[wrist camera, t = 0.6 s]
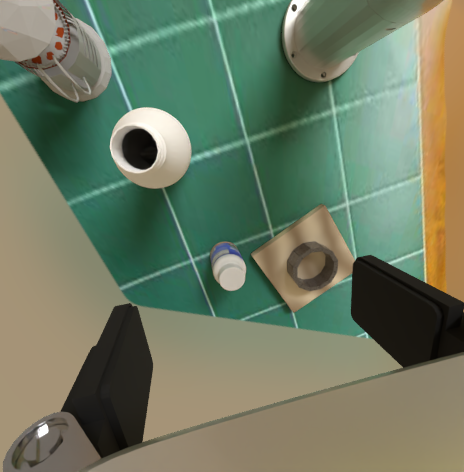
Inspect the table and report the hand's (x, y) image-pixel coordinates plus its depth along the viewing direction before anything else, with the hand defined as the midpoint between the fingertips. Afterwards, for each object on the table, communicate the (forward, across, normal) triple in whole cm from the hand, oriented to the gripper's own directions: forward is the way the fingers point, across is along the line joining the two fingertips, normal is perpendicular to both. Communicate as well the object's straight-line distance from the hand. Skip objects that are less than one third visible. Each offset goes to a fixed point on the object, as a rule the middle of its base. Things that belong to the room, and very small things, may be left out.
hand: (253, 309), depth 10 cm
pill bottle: (+34, -3, +11) cm, 36 cm away
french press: (+34, +14, -20) cm, 41 cm away
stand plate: (+34, -18, +16) cm, 41 cm away
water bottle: (+34, +4, -8) cm, 35 cm away
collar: (+32, -18, +16) cm, 40 cm away
